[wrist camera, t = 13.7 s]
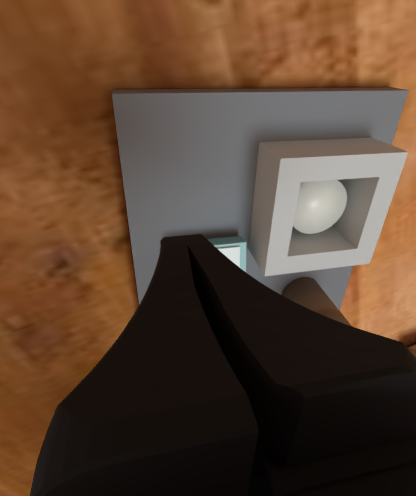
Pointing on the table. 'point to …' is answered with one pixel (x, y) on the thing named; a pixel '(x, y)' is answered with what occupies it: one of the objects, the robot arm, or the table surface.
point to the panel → (259, 174)
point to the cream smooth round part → (319, 205)
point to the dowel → (312, 298)
